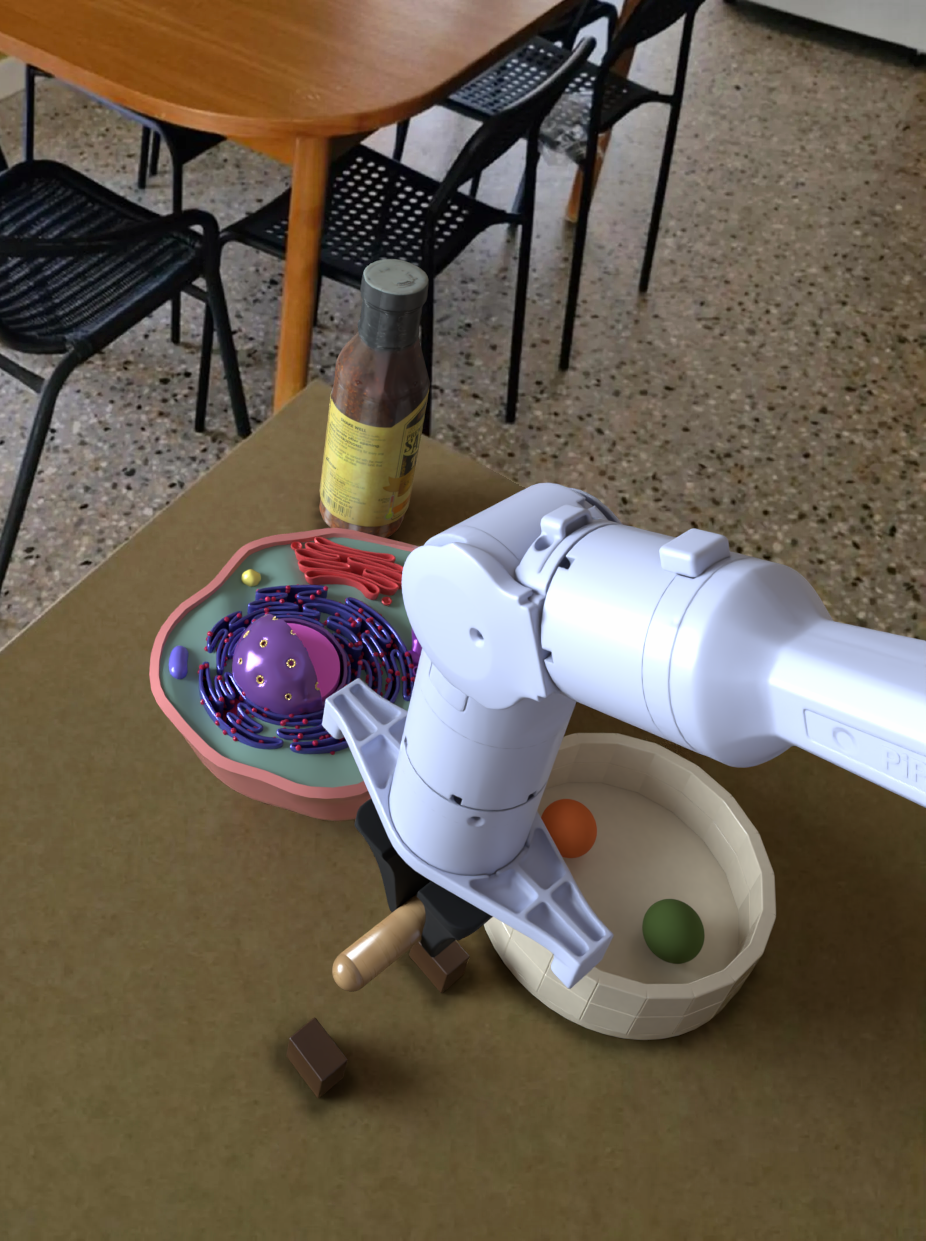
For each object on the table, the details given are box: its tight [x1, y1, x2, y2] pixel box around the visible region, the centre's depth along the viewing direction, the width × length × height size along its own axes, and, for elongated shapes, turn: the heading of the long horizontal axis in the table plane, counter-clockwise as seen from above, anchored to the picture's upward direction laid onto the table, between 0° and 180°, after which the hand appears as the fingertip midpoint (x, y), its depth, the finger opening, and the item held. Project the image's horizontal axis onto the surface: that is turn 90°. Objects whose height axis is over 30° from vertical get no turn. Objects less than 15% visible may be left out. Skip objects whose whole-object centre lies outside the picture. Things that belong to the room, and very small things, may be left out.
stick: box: [331, 893, 426, 993], centre depth 56 cm, size 11×2×2 cm, turn 128°
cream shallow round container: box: [483, 732, 777, 1041], centre depth 65 cm, size 14×14×4 cm
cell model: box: [148, 527, 422, 822], centre depth 70 cm, size 17×20×11 cm
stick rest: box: [285, 940, 470, 1099], centre depth 60 cm, size 10×2×2 cm, turn 128°
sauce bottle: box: [319, 258, 431, 539], centre depth 81 cm, size 7×6×20 cm
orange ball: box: [541, 799, 597, 858], centre depth 67 cm, size 3×3×3 cm
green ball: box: [642, 899, 705, 964], centre depth 63 cm, size 3×3×3 cm
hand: (426, 921), depth 56 cm, fingers closed on stick, 1 cm apart
